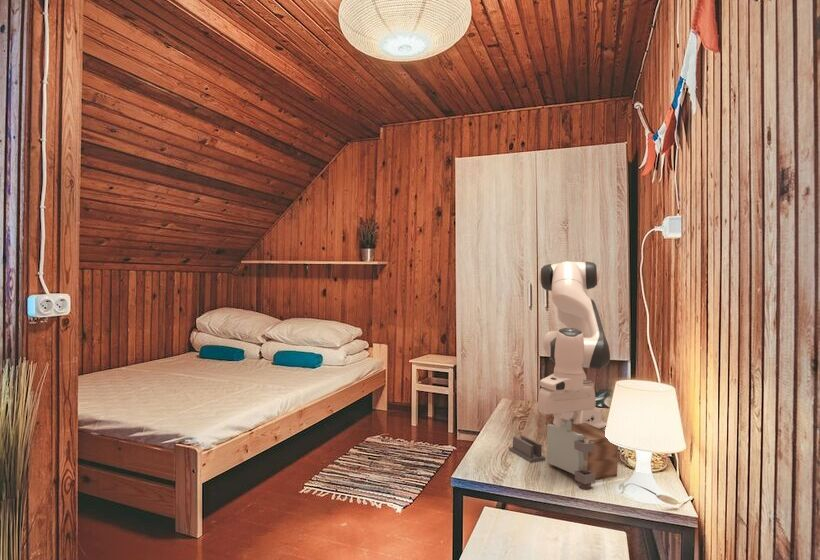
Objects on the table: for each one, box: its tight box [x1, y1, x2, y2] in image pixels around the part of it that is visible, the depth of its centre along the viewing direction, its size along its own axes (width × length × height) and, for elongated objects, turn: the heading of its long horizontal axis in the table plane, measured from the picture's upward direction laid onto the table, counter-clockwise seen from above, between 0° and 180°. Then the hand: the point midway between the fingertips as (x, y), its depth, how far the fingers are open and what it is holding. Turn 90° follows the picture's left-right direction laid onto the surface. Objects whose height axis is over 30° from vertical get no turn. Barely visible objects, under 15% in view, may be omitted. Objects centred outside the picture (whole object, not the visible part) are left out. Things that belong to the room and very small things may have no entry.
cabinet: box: [571, 423, 619, 490], centre depth 153 cm, size 16×17×15 cm
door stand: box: [508, 434, 546, 464], centre depth 167 cm, size 6×12×6 cm, turn 24°
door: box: [546, 418, 596, 484], centre depth 151 cm, size 4×18×16 cm, turn 24°
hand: (566, 425), depth 152 cm, fingers open, 4 cm apart
